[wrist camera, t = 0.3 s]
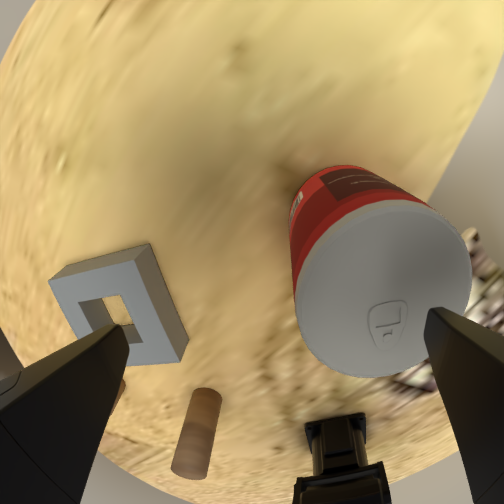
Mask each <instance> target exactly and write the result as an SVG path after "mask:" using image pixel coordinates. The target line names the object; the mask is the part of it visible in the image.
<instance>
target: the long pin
mask: <svg viewBox="0 0 504 504" xmlns="http://www.w3.org/2000/svg"><path fill="white" fill-rule="evenodd" d="M221 403H222V397H221V395H220V394H219V393H218V392H216V391H215V390H212V389H209V388H198V389H196V390H194V392H193V394H192V397H191V400H190V404H189V407H188V410H187V414H186V417H185V420H184V424H183V427H182V431H181V434H180V437H179V441H178V444H177V447H176V451H175V454H174V458H173V461H172V465H171V470H172V471H173V472H174V473H175V474H176V475H178V476H180V477H183V478H186V479H191V480H202V479H205V478H206V476H207V471H208V467H209V462H210V457H211V452H212V447H213V442H214V437H215V432H216V427H217V422H218V417H219V413H220V408H221Z"/></svg>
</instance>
